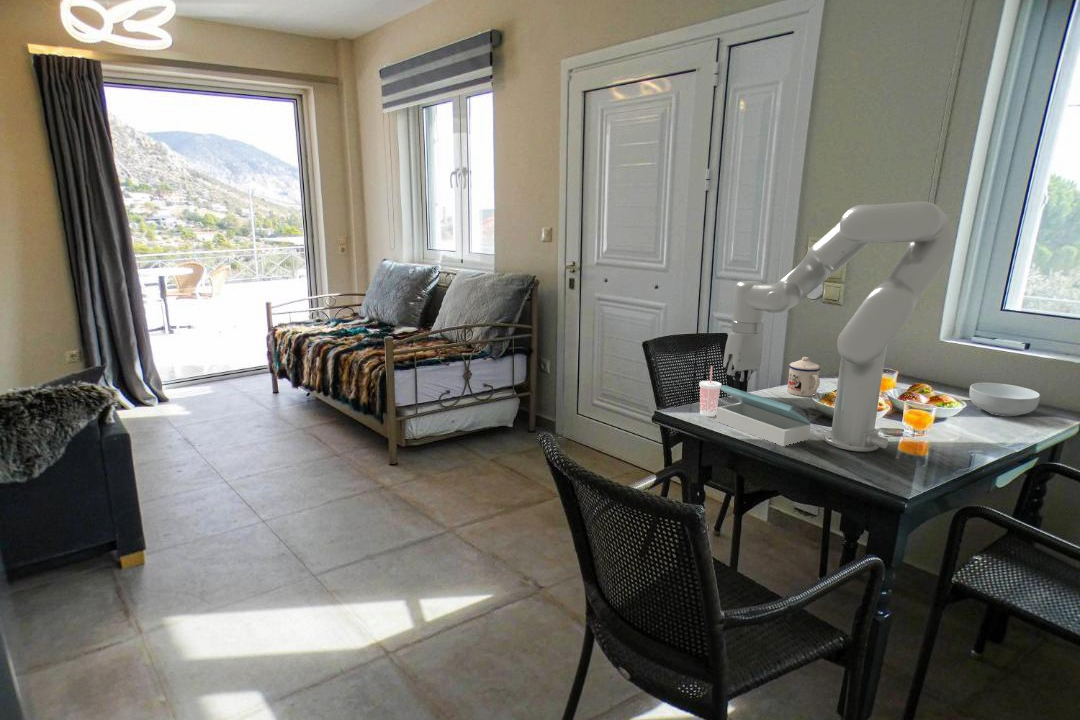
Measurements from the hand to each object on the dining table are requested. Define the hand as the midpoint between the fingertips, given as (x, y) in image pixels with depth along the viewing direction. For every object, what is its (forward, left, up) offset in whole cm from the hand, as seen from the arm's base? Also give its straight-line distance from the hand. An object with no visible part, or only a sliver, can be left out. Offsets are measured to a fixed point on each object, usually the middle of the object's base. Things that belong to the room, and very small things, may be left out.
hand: (740, 394), depth 175 cm
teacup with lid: (+8, -40, -8) cm, 41 cm away
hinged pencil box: (-8, 0, -8) cm, 11 cm away
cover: (-8, 0, -1) cm, 8 cm away
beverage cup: (+9, +2, -8) cm, 12 cm away
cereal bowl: (-33, -74, -8) cm, 81 cm away
